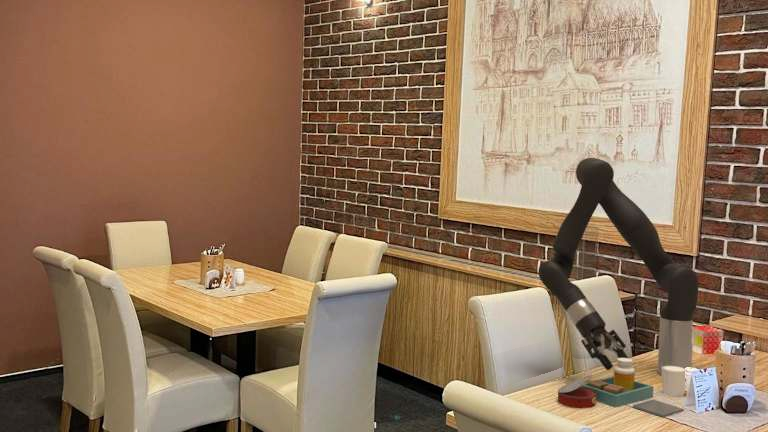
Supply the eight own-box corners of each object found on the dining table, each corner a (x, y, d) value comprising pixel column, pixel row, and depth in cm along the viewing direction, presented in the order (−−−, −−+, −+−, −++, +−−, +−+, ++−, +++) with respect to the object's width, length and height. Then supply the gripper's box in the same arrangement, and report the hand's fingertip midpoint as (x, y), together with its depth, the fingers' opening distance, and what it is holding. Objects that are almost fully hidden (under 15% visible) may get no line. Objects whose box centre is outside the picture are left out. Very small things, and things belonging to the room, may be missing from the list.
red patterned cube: (687, 348, 259) (688, 326, 259) (706, 347, 261) (707, 325, 261) (702, 354, 252) (703, 331, 251) (722, 353, 254) (723, 330, 253)
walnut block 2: (609, 398, 203) (610, 383, 202) (623, 401, 200) (624, 387, 200) (602, 401, 200) (603, 387, 200) (616, 405, 197) (617, 390, 197)
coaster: (653, 401, 200) (653, 399, 200) (683, 411, 193) (683, 408, 193) (632, 407, 195) (632, 405, 195) (662, 417, 188) (663, 415, 188)
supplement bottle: (634, 397, 203) (636, 362, 203) (614, 396, 204) (615, 361, 204) (632, 391, 209) (633, 357, 208) (612, 390, 210) (613, 356, 209)
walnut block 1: (596, 394, 206) (596, 379, 206) (608, 397, 203) (608, 383, 203) (586, 396, 204) (587, 382, 204) (598, 400, 201) (599, 385, 200)
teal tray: (616, 385, 214) (616, 375, 214) (652, 396, 204) (653, 386, 204) (579, 394, 205) (579, 384, 205) (615, 407, 195) (616, 396, 195)
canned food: (579, 426, 194) (569, 396, 190) (554, 410, 203) (544, 381, 199) (610, 402, 198) (601, 372, 194) (584, 387, 206) (575, 359, 203)
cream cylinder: (687, 391, 210) (688, 367, 209) (685, 398, 204) (687, 373, 203) (661, 388, 213) (662, 363, 212) (659, 394, 207) (660, 369, 206)
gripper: (579, 313, 208) (613, 363, 200) (608, 307, 217) (642, 354, 210) (562, 328, 212) (595, 377, 205) (591, 322, 222) (624, 369, 214)
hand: (619, 366), depth 207 cm, fingers open, 8 cm apart
